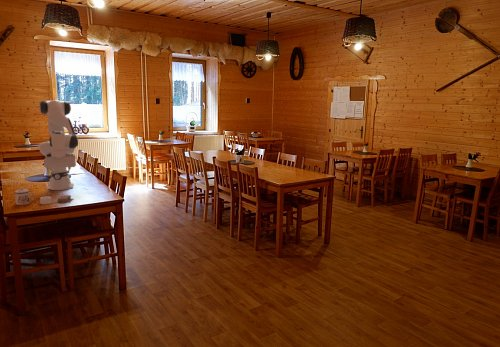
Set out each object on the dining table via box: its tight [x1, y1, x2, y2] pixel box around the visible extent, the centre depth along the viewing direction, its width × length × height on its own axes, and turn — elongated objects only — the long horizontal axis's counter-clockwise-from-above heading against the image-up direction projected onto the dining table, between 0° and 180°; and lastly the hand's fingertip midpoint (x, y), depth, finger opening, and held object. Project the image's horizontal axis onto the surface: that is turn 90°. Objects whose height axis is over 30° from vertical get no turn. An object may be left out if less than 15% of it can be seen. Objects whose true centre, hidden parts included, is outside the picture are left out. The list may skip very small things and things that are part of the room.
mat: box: [55, 198, 74, 204], centre depth 269 cm, size 12×10×1 cm
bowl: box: [39, 195, 53, 205], centre depth 263 cm, size 6×6×5 cm
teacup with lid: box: [13, 186, 35, 206], centre depth 264 cm, size 12×9×12 cm
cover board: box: [57, 194, 72, 204], centre depth 269 cm, size 9×6×3 cm, turn 11°
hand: (60, 173), depth 266 cm, fingers open, 8 cm apart
